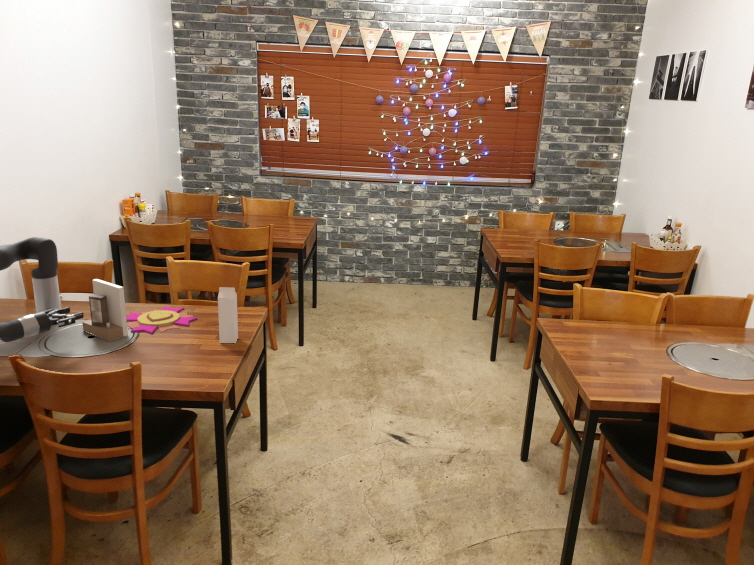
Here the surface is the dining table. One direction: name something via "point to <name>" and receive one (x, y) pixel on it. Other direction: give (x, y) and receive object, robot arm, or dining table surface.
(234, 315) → the milk
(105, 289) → the wall panel
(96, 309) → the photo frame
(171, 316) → the wall ornament
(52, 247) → the robot arm
